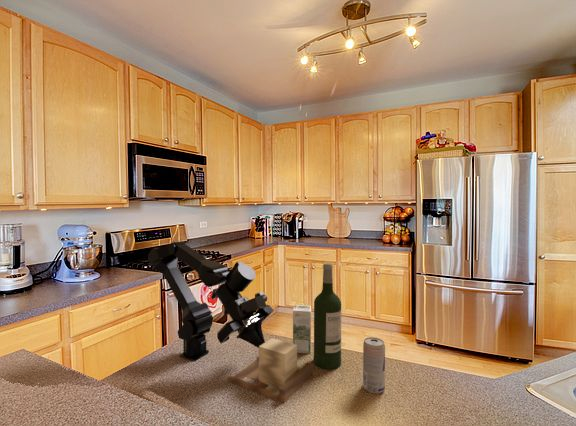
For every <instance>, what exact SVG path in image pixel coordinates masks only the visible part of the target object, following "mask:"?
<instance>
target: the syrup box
mask: <svg viewBox="0 0 576 426" xmlns="http://www.w3.org/2000/svg"><path fill="white" fill-rule="evenodd" d="M292 344H295V345H297V354H298V353H299V354H311V352H312V306H311V305H304V304H303V305H302V304H300V305H299V304H298V305H297V304H294V306H293V308H292Z"/></svg>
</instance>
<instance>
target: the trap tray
mask: <svg viewBox="0 0 576 426" xmlns="http://www.w3.org/2000/svg"><path fill="white" fill-rule="evenodd" d="M312 375H313V363H309V362H306V363H305V364H304V365H303V366H302V367H299V366H297V372H296V373H295V374H294V375H293V376H292V377H291V378H290V379H289V380H288V381H287V382H286V383H285V384H284V385H283V386H281V387H280V388H276V387H273V386H271V385H268V384H265V383H263V382H260V381H259V355H257V359H256V360H255V361H253V362H252V363H250V364H249V365H247V366H246V367H245V368H243V369H241V370H240V371H239V372H237V373H235V374H234V375H233V376H232V375H228V377H227V379H226V380H227V382H230V383H233V384H235V385H238V386H241V387H243V388H245V389H248V390H250V391H253V392H256V393H258V394H261V395H263V396H267V397H269V398H270V399H273V400H276V401H279V402H281V403H284V404H285V403H286V402H287V401H288V400H289V399H290V398H291V397H292V396H293V395H294V394H295V393H296V392H297V391H298V390H299V389H300V388H301V387H302V386H303V385H304V383H306V381H308V379H309V378H310V377H311V376H312ZM245 378H248V379H250V380H252V381H256V382H257V383H256V384H254V383H252V382H248V381H246V380H244V379H245Z"/></svg>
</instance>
